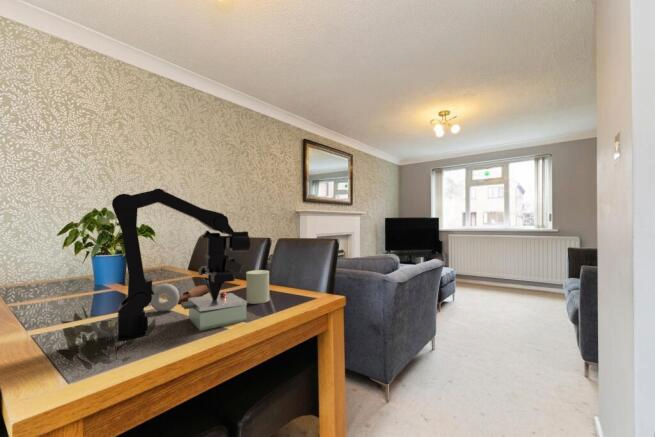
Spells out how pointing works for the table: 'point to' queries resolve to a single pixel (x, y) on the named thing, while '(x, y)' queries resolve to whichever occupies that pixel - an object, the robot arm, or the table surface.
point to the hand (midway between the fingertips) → (214, 300)
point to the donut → (172, 294)
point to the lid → (213, 302)
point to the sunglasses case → (193, 293)
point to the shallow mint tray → (217, 317)
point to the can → (257, 286)
